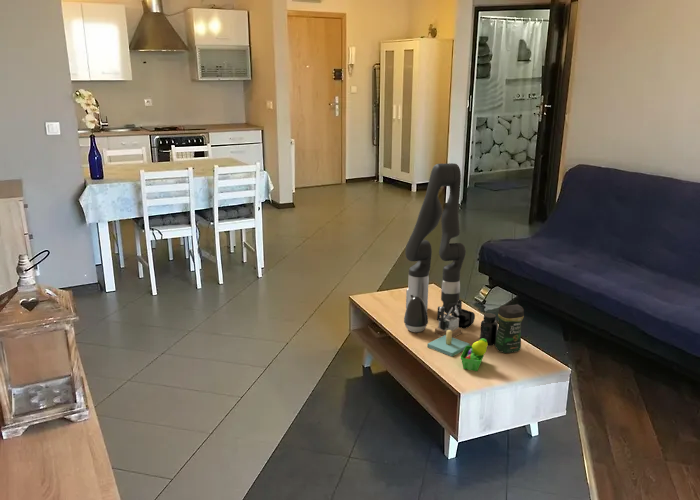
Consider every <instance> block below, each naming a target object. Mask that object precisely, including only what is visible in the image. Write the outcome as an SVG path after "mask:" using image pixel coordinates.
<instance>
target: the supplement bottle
mask: <svg viewBox="0 0 700 500" xmlns="http://www.w3.org/2000/svg"><path fill="white" fill-rule="evenodd" d="M498 325H499V322H498V321H497V316H496V314H494V313H490V312H489V313H488V312H487V313H485V314H483V320H482V321H481V322H480V331H479V334H480V335H479V340H480V339H482V338H483V339H486V340H487V343H488V346H489V347H490V346H491V347H492V346H495V342H496V337H497V332H498ZM488 346H487V347H488Z"/></svg>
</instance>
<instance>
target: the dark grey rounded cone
mask: <svg viewBox="0 0 700 500" xmlns="http://www.w3.org/2000/svg"><path fill="white" fill-rule="evenodd" d="M410 296H411V300H410V301H409V303H408V306H407V308H406V307H405V308H406V309H405V313H404V317H403V323H404V325H405V327H406V329H407V330H408V331H410V332H411V333H421V332H423V331H424V330H425V329H426V328H427V326H428V324H429V317H428V309H427V310H426V306H425V304H424V301H423V300H422V298H420V297H418V296H415V297H414V296H413V295H410Z"/></svg>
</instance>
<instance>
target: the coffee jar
mask: <svg viewBox="0 0 700 500" xmlns="http://www.w3.org/2000/svg"><path fill="white" fill-rule="evenodd" d="M497 316H498V332H497V337H496V342H495V345H494V347H495V349H496V350H497V351H498V352H501V353H502V354H503V353H505V354H509V353H517V352H520V351H521V347H522V341H521V339H522V324H523V323H522V322H523V320H524V317H525V309H524V307H523V306H521V305H520V304H519V303H516V304H510V305H503V306H501V305H500V306H499V307H498V312H497Z"/></svg>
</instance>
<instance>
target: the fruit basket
mask: <svg viewBox="0 0 700 500" xmlns="http://www.w3.org/2000/svg"><path fill="white" fill-rule="evenodd" d="M487 347H488V343H487V340H486V339H483V338H482V339H480V338H479V340H477V341H475V342H473V343H472V345H470V346H466V347H465V349H464V350H463V351H462V353H461V355H460V360H461V363H462V368H463V370H467V371H468V370H469V371H474V372H478V370H479V368H480V366H481V364H482V361H483V358H484V357H485V356H484V355H485V354H486V352H487V349H488V348H487Z"/></svg>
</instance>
